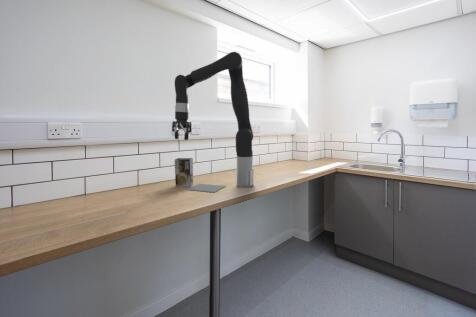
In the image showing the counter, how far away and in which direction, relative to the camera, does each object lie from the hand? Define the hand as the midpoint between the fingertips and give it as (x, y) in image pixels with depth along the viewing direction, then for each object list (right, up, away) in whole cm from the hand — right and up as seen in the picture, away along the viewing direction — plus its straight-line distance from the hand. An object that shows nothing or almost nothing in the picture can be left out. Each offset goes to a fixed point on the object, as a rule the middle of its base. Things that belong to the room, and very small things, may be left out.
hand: (181, 139), depth 153 cm
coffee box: (+2, -27, -1) cm, 27 cm away
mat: (+15, -28, -6) cm, 32 cm away
